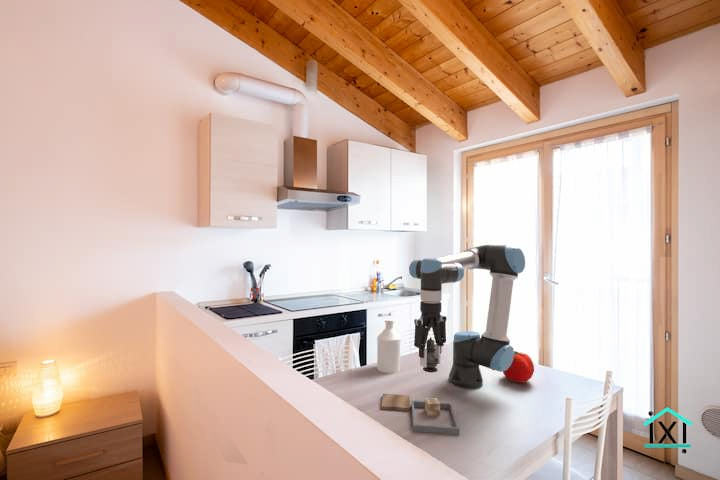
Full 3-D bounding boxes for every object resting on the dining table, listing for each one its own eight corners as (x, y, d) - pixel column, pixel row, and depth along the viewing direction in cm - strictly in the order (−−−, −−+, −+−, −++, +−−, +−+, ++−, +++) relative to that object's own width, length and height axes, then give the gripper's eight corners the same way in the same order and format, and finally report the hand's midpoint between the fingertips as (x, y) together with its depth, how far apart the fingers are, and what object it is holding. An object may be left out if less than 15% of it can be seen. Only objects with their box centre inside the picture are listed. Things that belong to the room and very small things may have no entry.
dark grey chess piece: (418, 369, 130) (419, 336, 129) (428, 365, 133) (429, 333, 133) (431, 374, 125) (432, 340, 125) (441, 369, 129) (442, 337, 129)
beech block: (436, 409, 138) (436, 398, 138) (439, 415, 134) (440, 403, 134) (425, 409, 138) (425, 398, 138) (428, 415, 133) (428, 403, 133)
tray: (451, 408, 139) (451, 403, 139) (459, 434, 121) (459, 428, 121) (411, 405, 141) (411, 400, 141) (413, 430, 123) (413, 425, 122)
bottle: (384, 362, 188) (385, 315, 188) (404, 368, 181) (405, 319, 181) (372, 369, 178) (373, 319, 178) (392, 375, 171) (393, 323, 171)
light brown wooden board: (409, 398, 147) (409, 395, 147) (410, 411, 136) (410, 408, 136) (382, 396, 148) (382, 393, 148) (381, 409, 138) (381, 406, 137)
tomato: (497, 374, 175) (497, 346, 175) (525, 375, 175) (526, 347, 174) (509, 387, 159) (510, 357, 159) (540, 388, 159) (541, 358, 159)
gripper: (442, 297, 137) (442, 356, 137) (403, 301, 127) (403, 365, 128) (457, 300, 130) (456, 363, 131) (417, 305, 121) (416, 373, 121)
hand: (430, 364), depth 129 cm, fingers closed on dark grey chess piece, 6 cm apart
